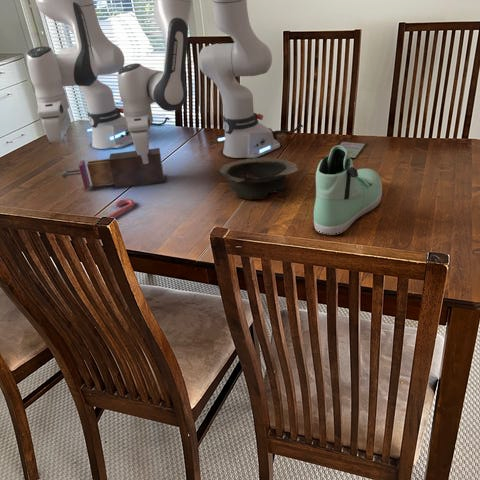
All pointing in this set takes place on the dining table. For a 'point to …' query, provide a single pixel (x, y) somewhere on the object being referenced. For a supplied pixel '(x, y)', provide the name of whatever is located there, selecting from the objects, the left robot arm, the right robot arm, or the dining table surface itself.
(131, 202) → the candy cane
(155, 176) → the cabinet
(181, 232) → the dining table surface
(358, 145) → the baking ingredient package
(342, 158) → the sneaker
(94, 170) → the drawer
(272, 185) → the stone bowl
